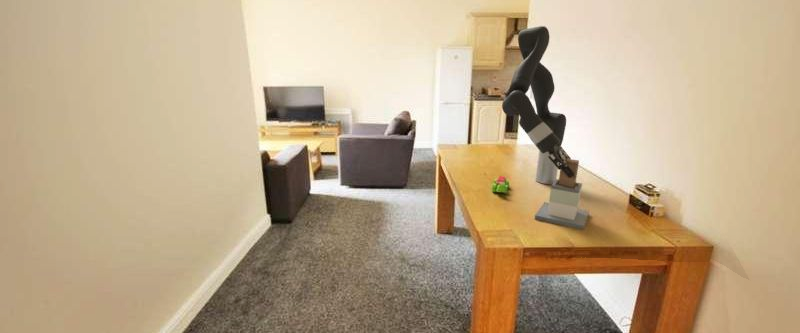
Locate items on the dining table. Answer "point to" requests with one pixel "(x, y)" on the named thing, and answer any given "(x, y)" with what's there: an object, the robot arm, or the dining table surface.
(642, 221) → the dining table surface
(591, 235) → the dining table surface
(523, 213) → the dining table surface
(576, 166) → the walnut brick
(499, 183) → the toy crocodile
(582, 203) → the dining table surface
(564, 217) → the tower
